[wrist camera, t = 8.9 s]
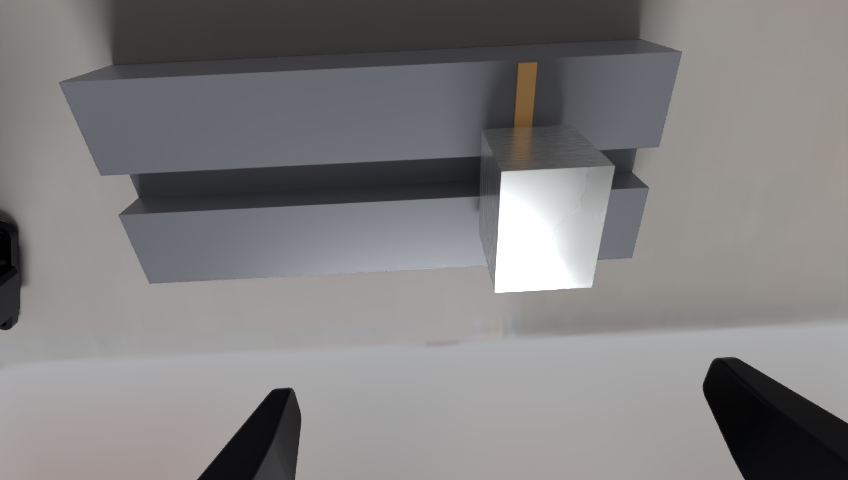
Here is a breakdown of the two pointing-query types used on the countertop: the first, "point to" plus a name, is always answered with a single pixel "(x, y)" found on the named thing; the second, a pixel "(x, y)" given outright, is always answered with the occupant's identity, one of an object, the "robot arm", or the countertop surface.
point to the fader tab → (541, 207)
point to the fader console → (353, 150)
